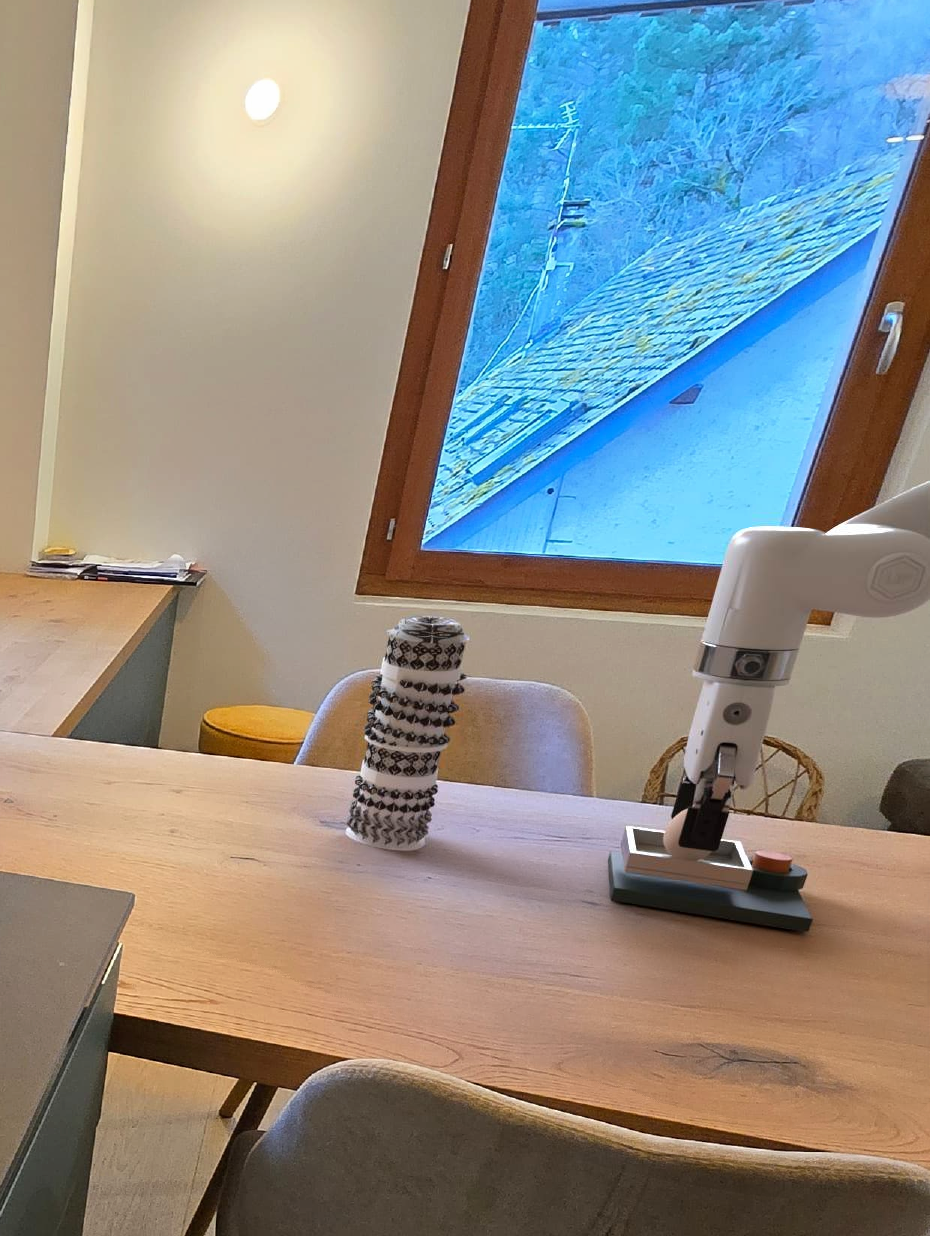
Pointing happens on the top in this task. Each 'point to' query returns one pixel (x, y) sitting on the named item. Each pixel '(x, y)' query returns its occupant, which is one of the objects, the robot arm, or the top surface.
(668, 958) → the top surface
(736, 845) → the pan
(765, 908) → the scale
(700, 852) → the egg
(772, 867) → the button
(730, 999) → the top surface
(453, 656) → the decorative candle
